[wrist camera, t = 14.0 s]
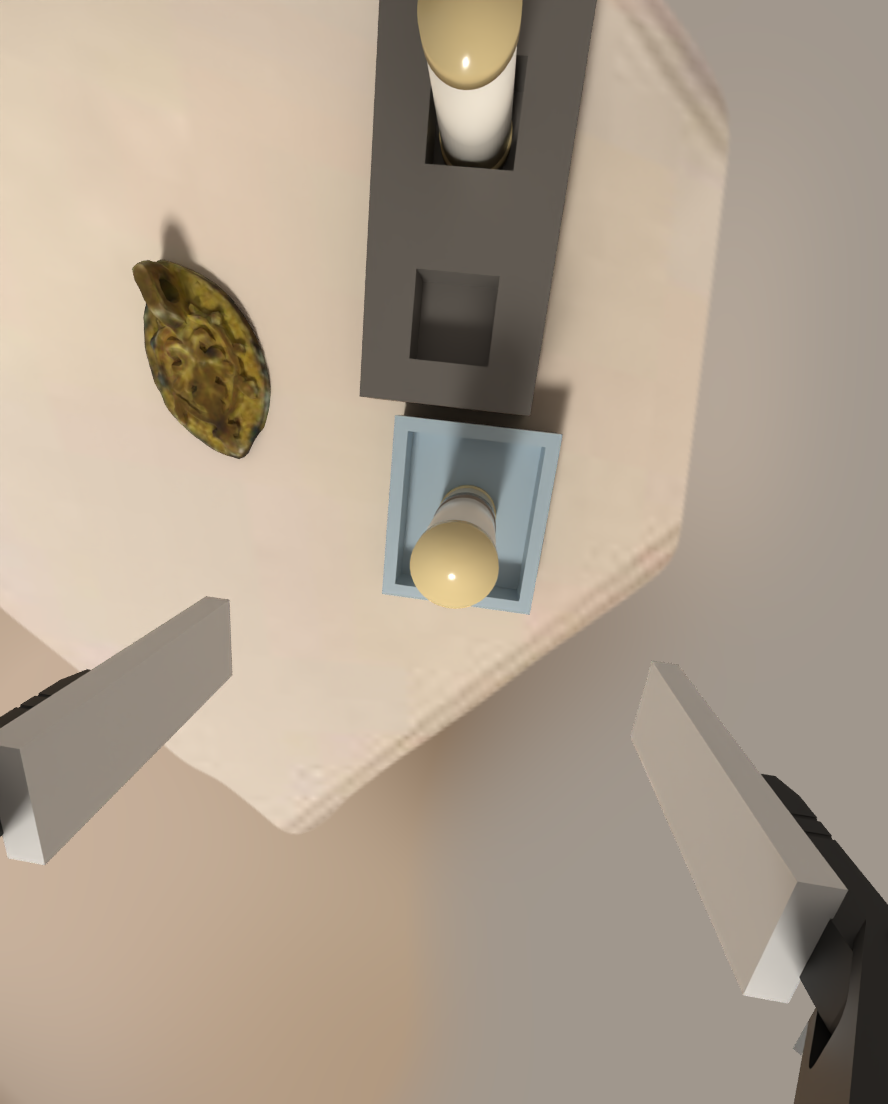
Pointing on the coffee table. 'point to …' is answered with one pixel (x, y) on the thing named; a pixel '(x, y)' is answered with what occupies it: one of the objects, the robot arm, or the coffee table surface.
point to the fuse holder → (467, 221)
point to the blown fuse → (458, 550)
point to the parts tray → (481, 460)
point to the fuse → (472, 76)
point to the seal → (203, 357)
